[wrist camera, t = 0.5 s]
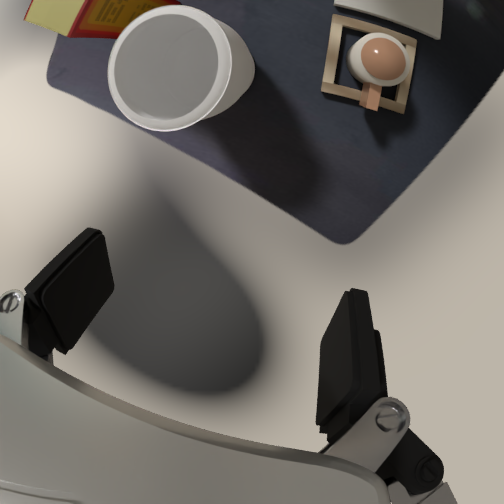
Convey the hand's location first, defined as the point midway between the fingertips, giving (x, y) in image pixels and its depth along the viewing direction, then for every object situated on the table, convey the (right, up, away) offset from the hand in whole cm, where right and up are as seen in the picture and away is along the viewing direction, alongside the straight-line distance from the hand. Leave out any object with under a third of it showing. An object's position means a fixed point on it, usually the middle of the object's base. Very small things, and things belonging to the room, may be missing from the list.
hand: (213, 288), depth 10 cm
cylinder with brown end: (+15, +22, +15) cm, 30 cm away
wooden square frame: (+15, +23, +15) cm, 31 cm away
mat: (+17, +32, +8) cm, 37 cm away
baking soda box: (-13, +33, +14) cm, 38 cm away
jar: (-2, +23, +18) cm, 30 cm away
